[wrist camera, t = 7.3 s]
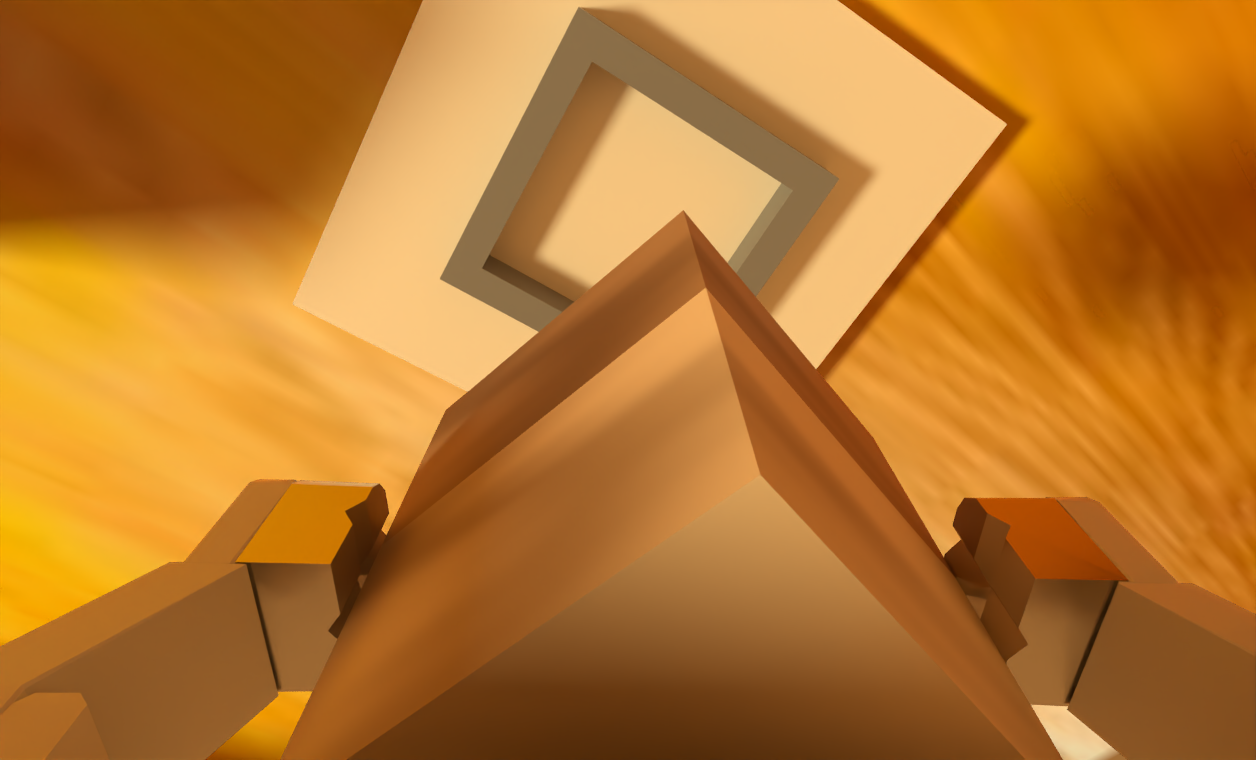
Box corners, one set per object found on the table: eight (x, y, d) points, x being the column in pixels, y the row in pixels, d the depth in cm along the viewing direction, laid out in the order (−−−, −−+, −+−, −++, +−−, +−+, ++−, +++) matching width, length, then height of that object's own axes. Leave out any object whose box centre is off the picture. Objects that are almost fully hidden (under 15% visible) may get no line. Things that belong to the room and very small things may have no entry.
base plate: (702, 493, 31) (710, 534, 28) (305, 292, 27) (274, 320, 24) (989, 119, 24) (1031, 130, 22) (526, -218, 20) (514, -249, 18)
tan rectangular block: (644, 591, 14) (656, 1068, 8) (446, 409, 12) (248, 826, 6) (872, 437, 12) (1126, 866, 6) (683, 210, 11) (760, 475, 4)
